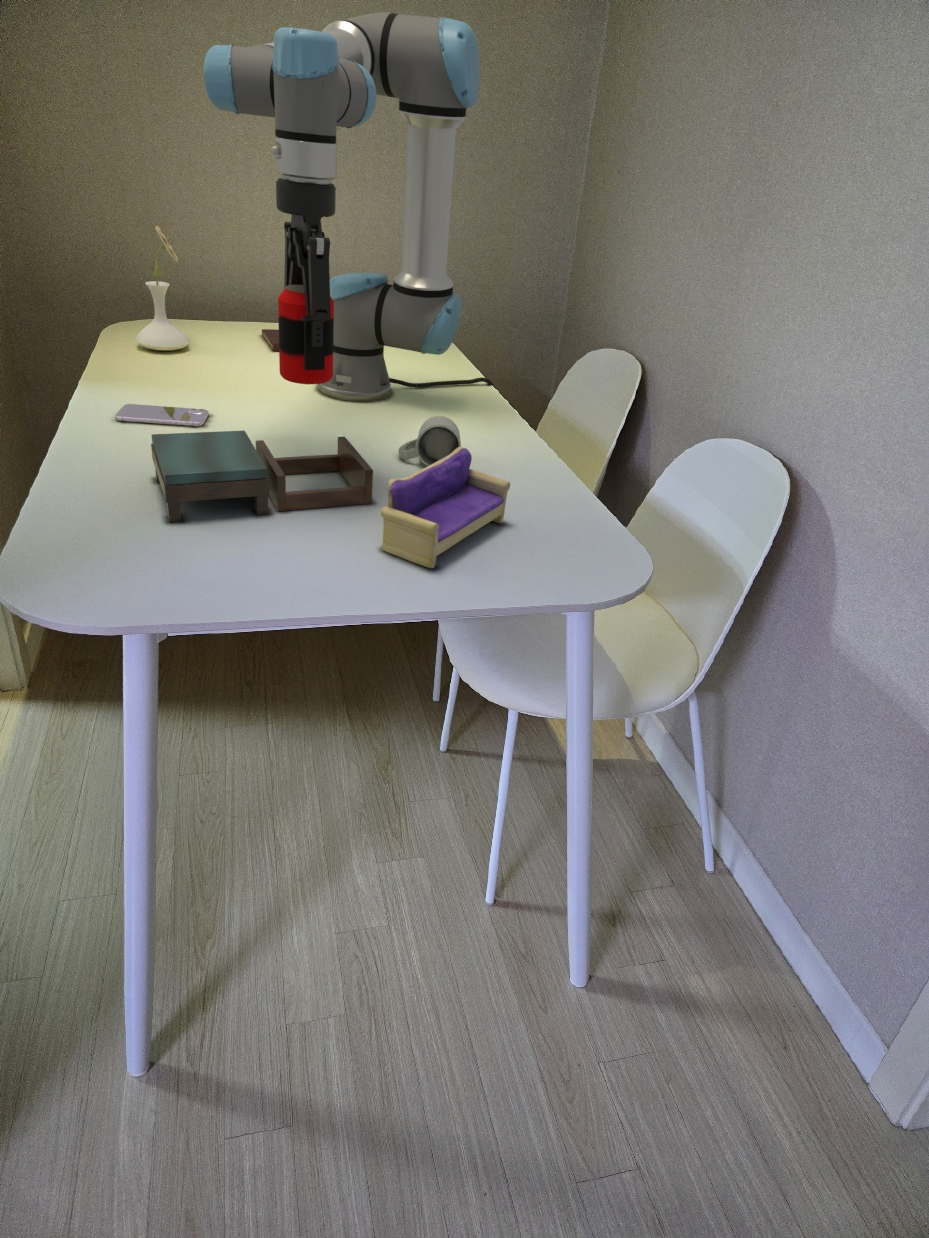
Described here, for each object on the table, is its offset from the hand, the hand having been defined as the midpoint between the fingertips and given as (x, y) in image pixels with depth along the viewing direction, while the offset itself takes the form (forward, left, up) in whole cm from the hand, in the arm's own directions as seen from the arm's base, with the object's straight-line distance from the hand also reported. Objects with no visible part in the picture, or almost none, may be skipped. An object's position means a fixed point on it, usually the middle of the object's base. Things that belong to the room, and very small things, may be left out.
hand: (306, 360), depth 113 cm
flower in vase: (+11, -83, -20) cm, 86 cm away
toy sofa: (-15, +20, -20) cm, 32 cm away
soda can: (0, 0, -3) cm, 3 cm away
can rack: (-1, 0, -20) cm, 20 cm away
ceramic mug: (-24, -8, -20) cm, 32 cm away
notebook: (-23, -86, -20) cm, 91 cm away
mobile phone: (+17, -35, -20) cm, 44 cm away
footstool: (+15, 0, -20) cm, 24 cm away
